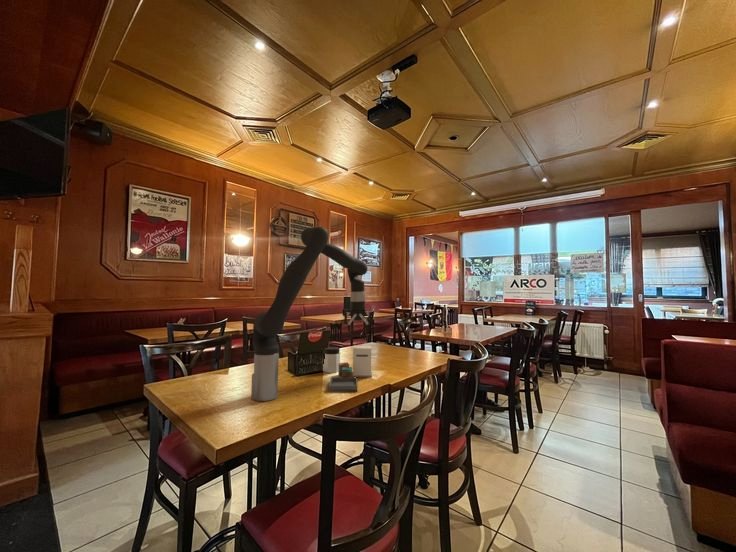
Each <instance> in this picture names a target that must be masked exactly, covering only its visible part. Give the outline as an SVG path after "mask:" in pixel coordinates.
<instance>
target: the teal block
mask: <svg viewBox="0 0 736 552" xmlns="http://www.w3.org/2000/svg"><path fill="white" fill-rule="evenodd" d="M352 372H353V366H351V367H350V366H349V367H343V368H342V377H341V378H352Z"/></svg>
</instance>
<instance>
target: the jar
mask: <svg viewBox="0 0 736 552" xmlns="http://www.w3.org/2000/svg"><path fill="white" fill-rule="evenodd" d="M327 347H328V348H325V347H324V348H325V359H324V364H323V363H322V371H323V372H324V373H326V374H332V373H333V374H335V373H339V363H341V352H340V351H341V350H340V346H339V347H338V346H327Z"/></svg>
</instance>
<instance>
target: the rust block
mask: <svg viewBox="0 0 736 552" xmlns="http://www.w3.org/2000/svg"><path fill="white" fill-rule="evenodd" d="M343 367H350V363H348V362H340V363H339V371H338V376H339V378H342V368H343Z"/></svg>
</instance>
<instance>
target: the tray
mask: <svg viewBox="0 0 736 552" xmlns="http://www.w3.org/2000/svg"><path fill="white" fill-rule="evenodd" d="M358 385H359V384H358V378H342V377H331V378H330V381H329V384H328V392H329V393H330V392H332V393H335V392H336V393H341V392H342V393H346V392H347V393H349V392H350V393H351V392H352V393H357V392H358Z"/></svg>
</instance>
